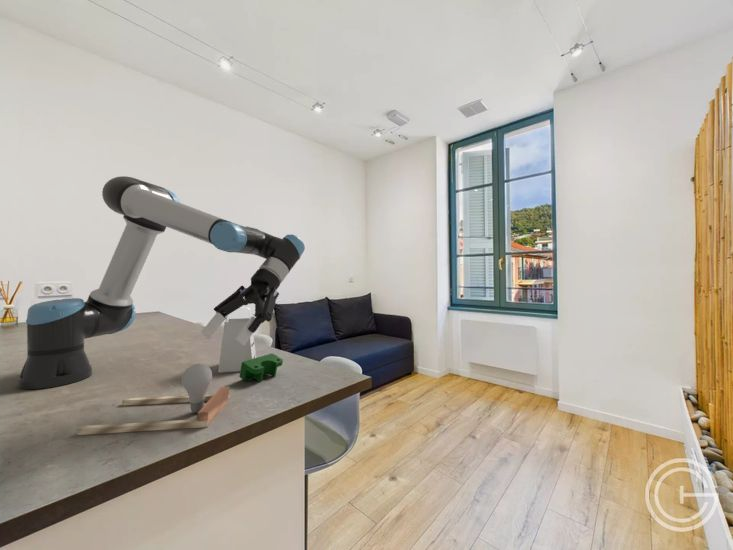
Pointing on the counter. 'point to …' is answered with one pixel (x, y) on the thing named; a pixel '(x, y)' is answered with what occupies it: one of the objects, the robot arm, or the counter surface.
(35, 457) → the counter surface
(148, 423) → the guide
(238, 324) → the grater
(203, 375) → the lightbulb
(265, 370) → the clamp
